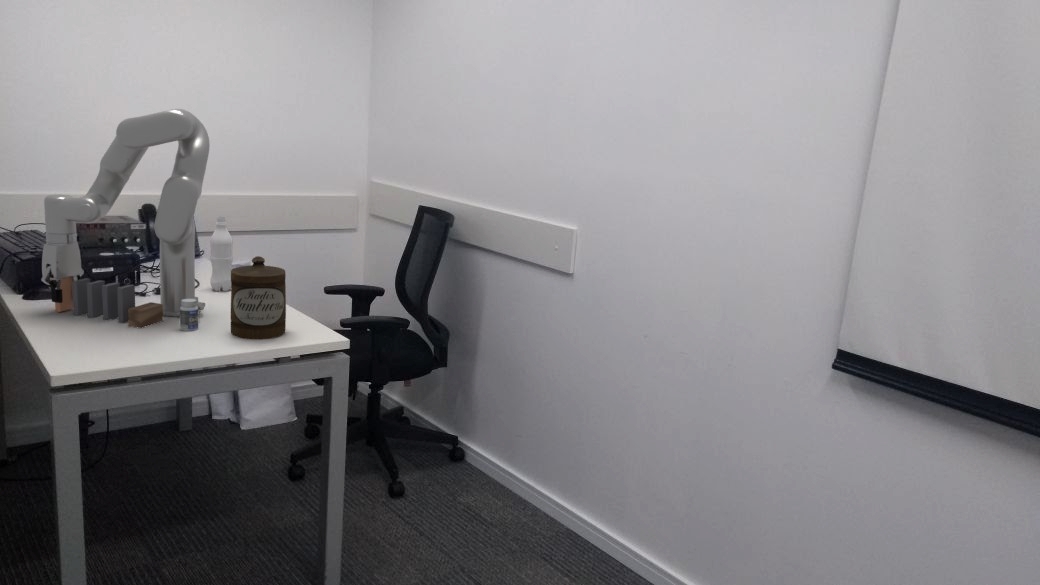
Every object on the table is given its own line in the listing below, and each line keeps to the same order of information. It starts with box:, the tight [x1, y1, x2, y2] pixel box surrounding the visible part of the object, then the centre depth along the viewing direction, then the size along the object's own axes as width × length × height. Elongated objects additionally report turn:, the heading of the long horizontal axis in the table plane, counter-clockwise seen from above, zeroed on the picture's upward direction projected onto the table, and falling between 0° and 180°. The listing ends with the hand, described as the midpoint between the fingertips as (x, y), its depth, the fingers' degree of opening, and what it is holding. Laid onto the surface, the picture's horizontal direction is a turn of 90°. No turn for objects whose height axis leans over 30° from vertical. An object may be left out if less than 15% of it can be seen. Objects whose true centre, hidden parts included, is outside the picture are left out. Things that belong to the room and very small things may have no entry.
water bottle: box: [209, 216, 234, 292], centre depth 263 cm, size 7×7×25 cm
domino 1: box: [54, 277, 73, 313], centre depth 225 cm, size 2×5×10 cm, turn 167°
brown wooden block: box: [128, 302, 164, 329], centre depth 220 cm, size 4×9×5 cm, turn 167°
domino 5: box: [117, 284, 136, 324], centre depth 220 cm, size 2×5×10 cm, turn 167°
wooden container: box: [230, 255, 287, 341], centre depth 218 cm, size 15×15×22 cm
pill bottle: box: [179, 299, 199, 332], centre depth 217 cm, size 5×5×8 cm
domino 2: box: [72, 277, 91, 317], centre depth 224 cm, size 2×5×10 cm, turn 167°
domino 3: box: [87, 279, 106, 319], centre depth 223 cm, size 2×5×10 cm, turn 167°
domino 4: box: [102, 282, 121, 322], centre depth 221 cm, size 2×5×10 cm, turn 167°
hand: (64, 299), depth 225 cm, fingers closed on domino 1, 4 cm apart
